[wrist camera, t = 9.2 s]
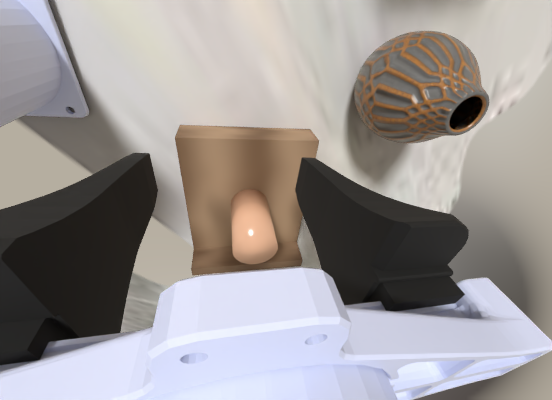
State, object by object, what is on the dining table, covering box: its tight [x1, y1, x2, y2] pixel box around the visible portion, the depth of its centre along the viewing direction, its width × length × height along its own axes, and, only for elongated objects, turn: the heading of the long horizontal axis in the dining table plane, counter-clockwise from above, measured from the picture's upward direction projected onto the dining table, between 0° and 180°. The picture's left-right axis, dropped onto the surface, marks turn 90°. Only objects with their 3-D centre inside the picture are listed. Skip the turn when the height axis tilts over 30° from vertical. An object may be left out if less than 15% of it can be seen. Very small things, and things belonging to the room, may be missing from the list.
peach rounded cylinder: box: [231, 189, 278, 264], centre depth 20 cm, size 3×3×6 cm
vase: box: [354, 31, 489, 143], centre depth 16 cm, size 7×7×9 cm
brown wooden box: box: [175, 125, 319, 275], centre depth 22 cm, size 11×13×5 cm
